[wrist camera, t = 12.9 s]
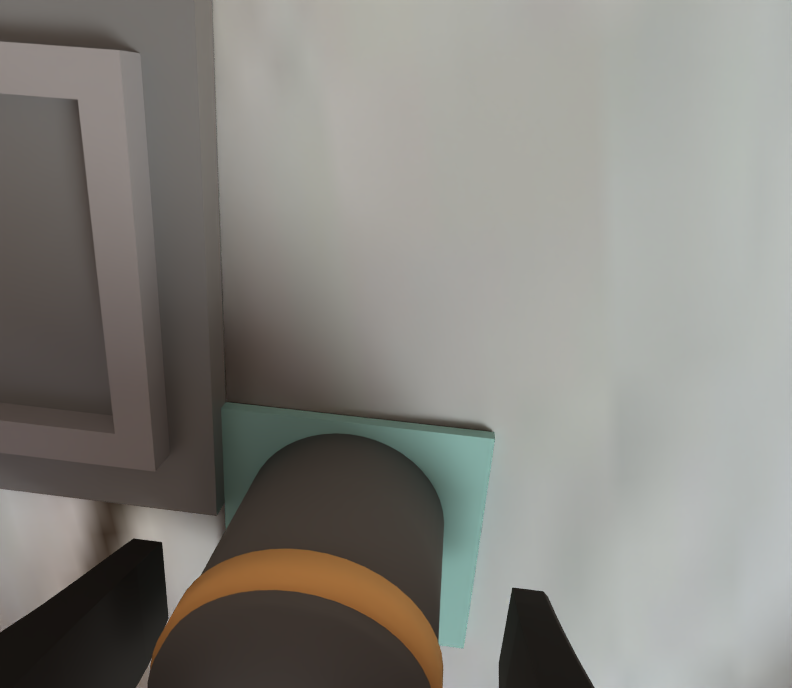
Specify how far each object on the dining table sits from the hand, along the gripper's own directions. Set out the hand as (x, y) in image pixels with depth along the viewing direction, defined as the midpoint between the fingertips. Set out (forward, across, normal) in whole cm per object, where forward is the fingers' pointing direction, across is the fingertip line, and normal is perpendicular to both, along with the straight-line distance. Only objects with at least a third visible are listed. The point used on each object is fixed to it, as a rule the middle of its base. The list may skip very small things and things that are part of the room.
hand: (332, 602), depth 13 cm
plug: (+2, 0, 0) cm, 2 cm away
